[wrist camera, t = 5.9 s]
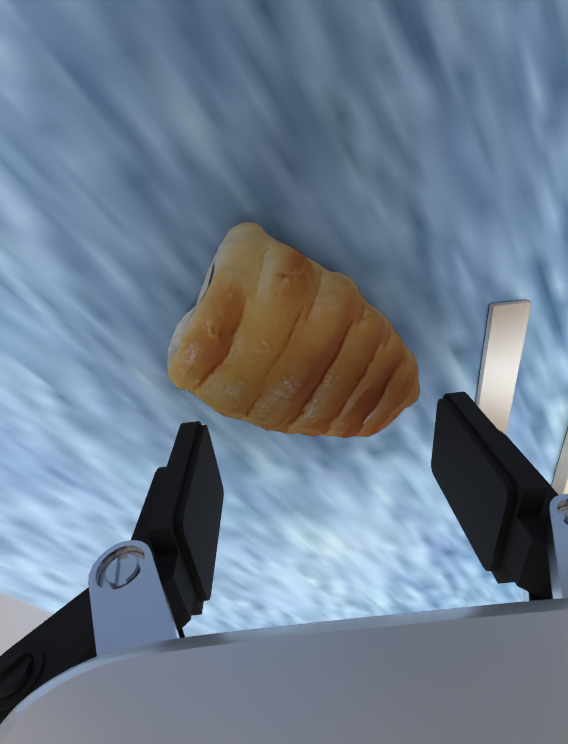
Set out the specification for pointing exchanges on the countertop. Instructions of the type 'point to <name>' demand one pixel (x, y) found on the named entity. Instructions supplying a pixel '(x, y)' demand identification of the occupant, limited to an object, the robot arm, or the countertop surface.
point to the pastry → (290, 344)
